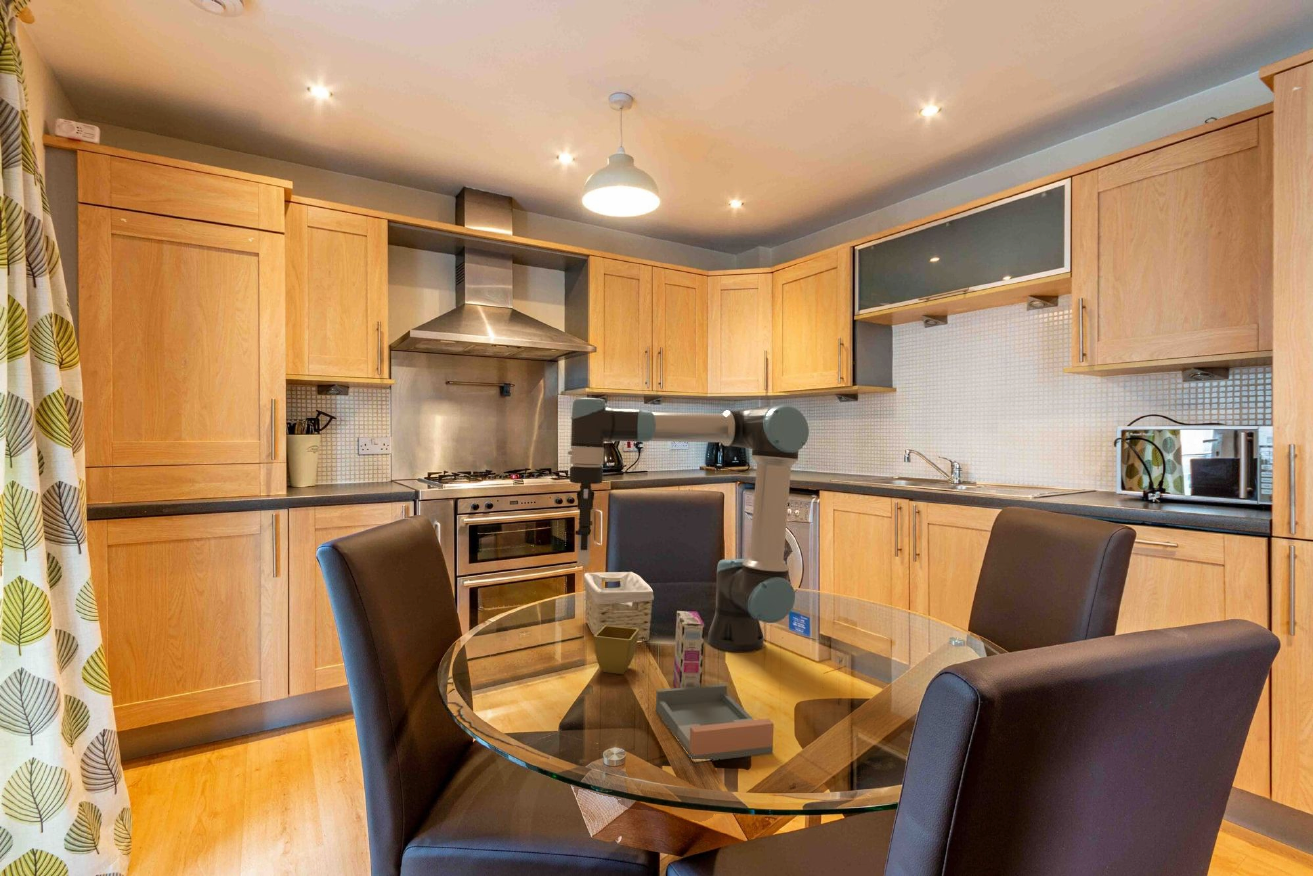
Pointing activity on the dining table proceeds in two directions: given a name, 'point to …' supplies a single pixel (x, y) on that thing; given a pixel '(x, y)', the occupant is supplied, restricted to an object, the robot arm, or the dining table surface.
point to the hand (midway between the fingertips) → (583, 558)
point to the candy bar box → (688, 650)
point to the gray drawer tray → (713, 723)
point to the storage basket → (618, 602)
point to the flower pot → (615, 648)
